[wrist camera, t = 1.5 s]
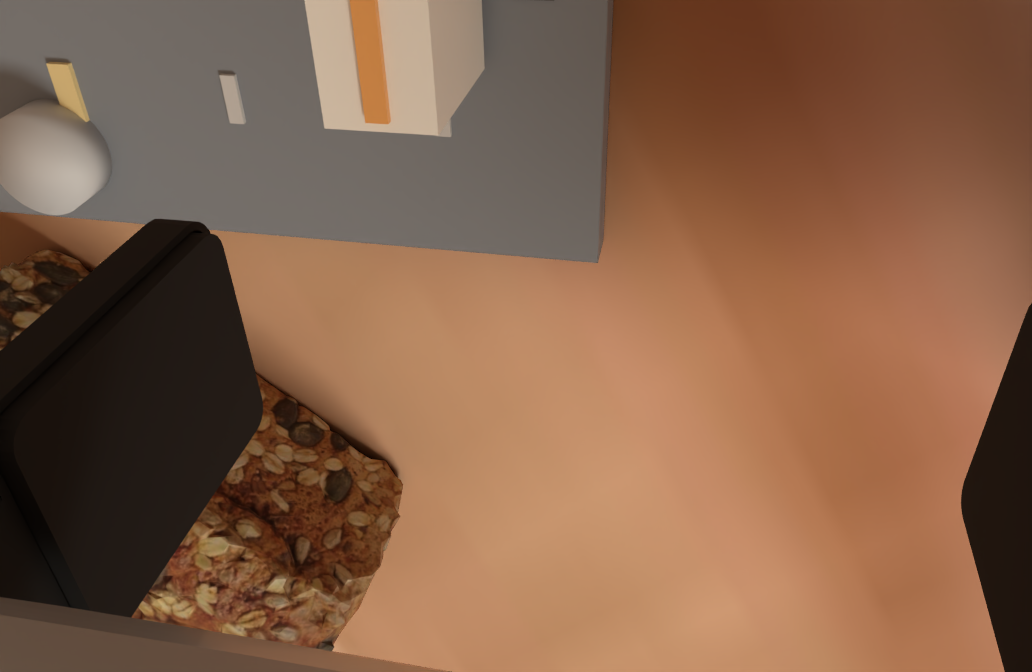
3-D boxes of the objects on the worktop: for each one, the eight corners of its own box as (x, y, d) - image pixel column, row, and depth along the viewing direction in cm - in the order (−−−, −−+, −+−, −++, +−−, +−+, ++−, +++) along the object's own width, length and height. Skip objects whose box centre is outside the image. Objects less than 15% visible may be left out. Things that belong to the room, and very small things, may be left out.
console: (628, -343, 21) (613, -349, 19) (603, 241, 30) (591, 288, 28) (-207, -313, 25) (-309, -315, 23) (-3, 191, 35) (-60, 229, 32)
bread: (426, 470, 39) (347, 665, 31) (318, 572, 45) (229, 757, 37) (49, 218, 35) (-152, 368, 27) (-14, 367, 41) (-194, 526, 33)
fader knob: (476, -122, 23) (418, -84, 19) (484, 68, 26) (435, 138, 22) (367, -123, 23) (287, -85, 19) (387, 63, 26) (321, 131, 22)
